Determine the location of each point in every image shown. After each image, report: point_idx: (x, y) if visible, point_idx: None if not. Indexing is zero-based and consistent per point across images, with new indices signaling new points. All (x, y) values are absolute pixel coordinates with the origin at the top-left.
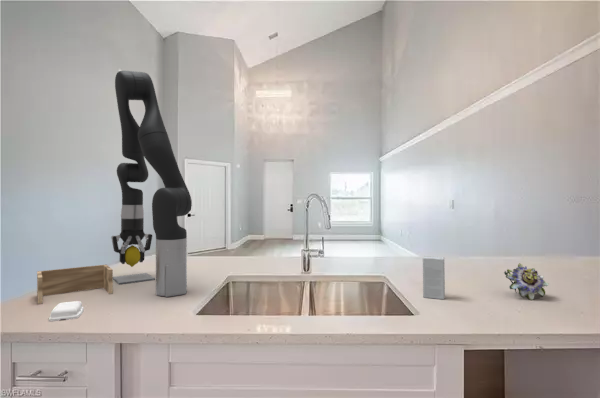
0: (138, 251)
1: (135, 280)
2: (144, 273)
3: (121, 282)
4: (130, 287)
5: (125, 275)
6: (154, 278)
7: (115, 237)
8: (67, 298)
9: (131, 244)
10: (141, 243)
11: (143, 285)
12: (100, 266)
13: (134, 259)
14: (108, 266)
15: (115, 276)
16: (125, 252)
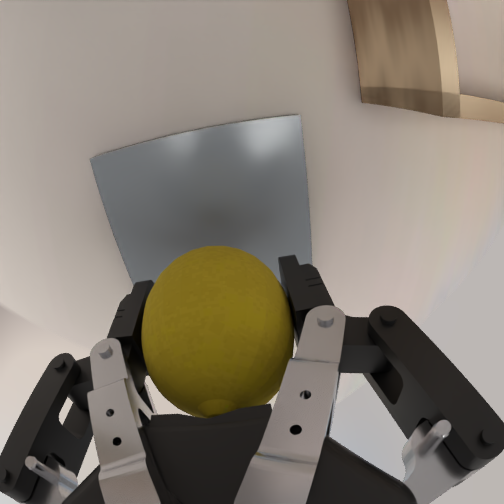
0: (148, 334)
1: (201, 137)
2: None
3: (286, 117)
4: (240, 10)
5: None
6: (92, 157)
7: (481, 447)
8: (475, 6)
9: (229, 415)
10: (96, 411)
11: (163, 29)
12: (469, 96)
13: (196, 254)
14: (432, 10)
15: None
16: (289, 333)
